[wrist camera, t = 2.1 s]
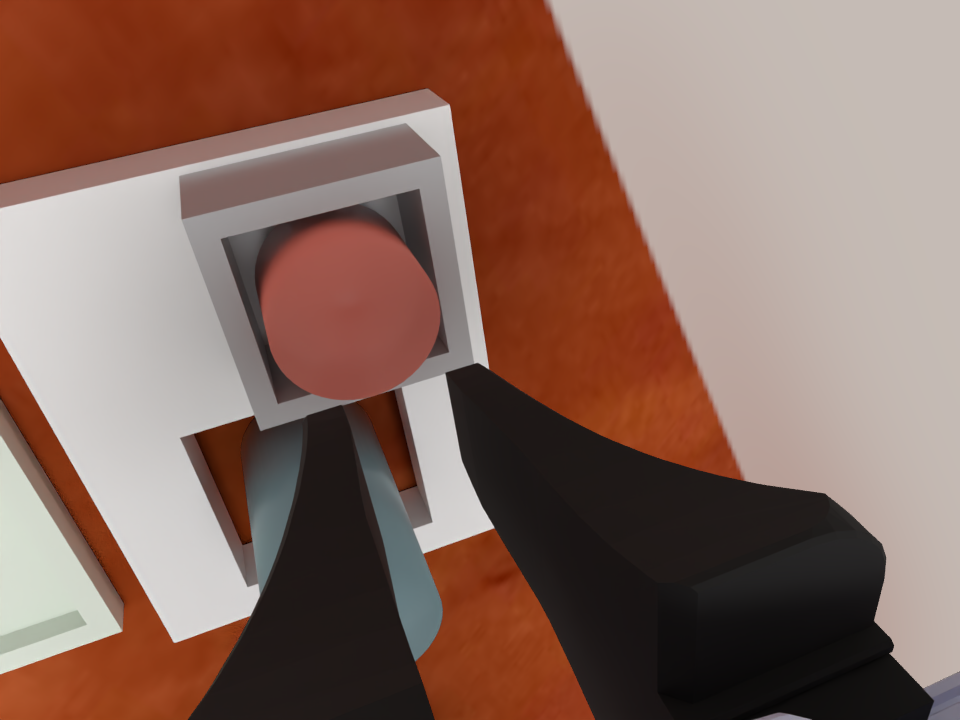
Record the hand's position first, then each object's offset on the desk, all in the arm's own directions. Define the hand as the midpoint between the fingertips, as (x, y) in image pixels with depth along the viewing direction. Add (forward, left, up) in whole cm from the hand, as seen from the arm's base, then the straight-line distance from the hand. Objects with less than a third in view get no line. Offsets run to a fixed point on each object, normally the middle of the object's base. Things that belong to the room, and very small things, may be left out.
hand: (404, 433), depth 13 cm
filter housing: (-5, +2, -10) cm, 12 cm away
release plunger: (0, 0, -7) cm, 7 cm away
